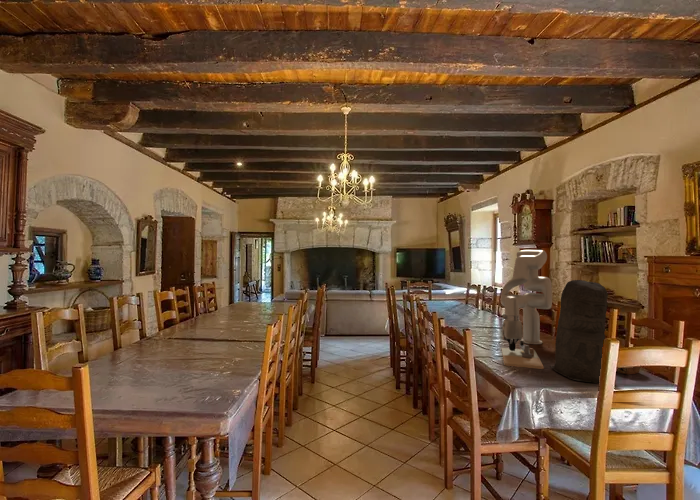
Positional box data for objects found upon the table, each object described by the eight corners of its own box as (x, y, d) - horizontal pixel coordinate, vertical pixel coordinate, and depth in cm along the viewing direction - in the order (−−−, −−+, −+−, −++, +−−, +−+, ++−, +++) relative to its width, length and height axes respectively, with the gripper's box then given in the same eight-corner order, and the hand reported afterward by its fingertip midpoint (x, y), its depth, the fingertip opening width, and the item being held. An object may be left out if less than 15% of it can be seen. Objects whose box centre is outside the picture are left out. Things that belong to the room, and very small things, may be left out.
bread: (641, 373, 178) (641, 352, 178) (626, 376, 174) (626, 354, 174) (602, 362, 195) (602, 343, 195) (588, 365, 191) (588, 345, 191)
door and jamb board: (501, 349, 222) (501, 336, 222) (534, 352, 216) (534, 339, 216) (504, 365, 190) (504, 350, 190) (543, 369, 184) (543, 353, 184)
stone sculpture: (557, 382, 168) (567, 284, 163) (548, 365, 187) (557, 276, 183) (619, 392, 160) (631, 289, 156) (603, 373, 180) (614, 281, 175)
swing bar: (528, 352, 203) (528, 345, 203) (524, 352, 203) (524, 345, 203) (523, 346, 215) (523, 340, 215) (519, 346, 216) (519, 340, 216)
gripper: (502, 319, 208) (502, 352, 208) (528, 319, 209) (528, 351, 209) (496, 317, 215) (496, 348, 215) (521, 316, 217) (521, 348, 216)
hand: (512, 350), depth 212 cm, fingers closed
